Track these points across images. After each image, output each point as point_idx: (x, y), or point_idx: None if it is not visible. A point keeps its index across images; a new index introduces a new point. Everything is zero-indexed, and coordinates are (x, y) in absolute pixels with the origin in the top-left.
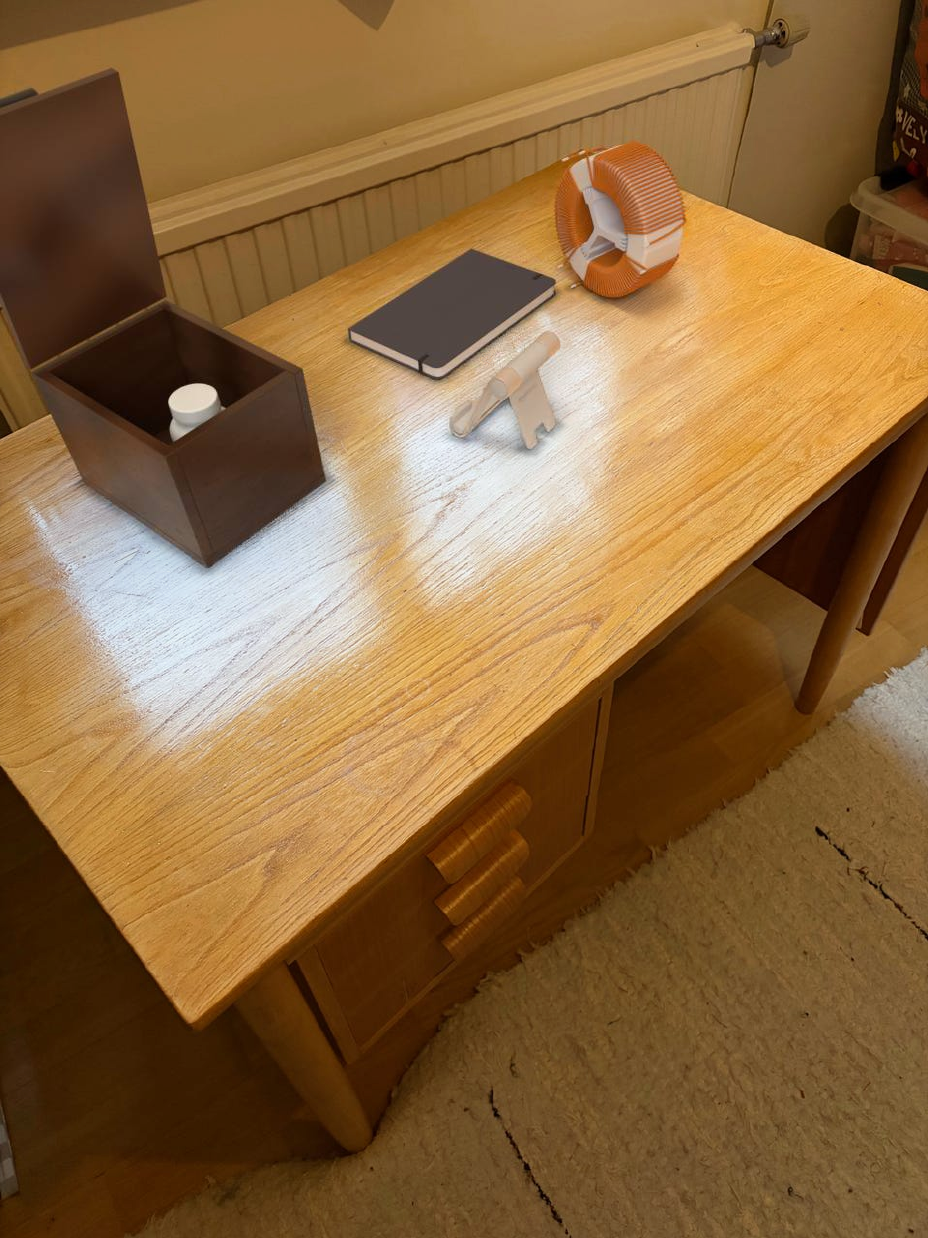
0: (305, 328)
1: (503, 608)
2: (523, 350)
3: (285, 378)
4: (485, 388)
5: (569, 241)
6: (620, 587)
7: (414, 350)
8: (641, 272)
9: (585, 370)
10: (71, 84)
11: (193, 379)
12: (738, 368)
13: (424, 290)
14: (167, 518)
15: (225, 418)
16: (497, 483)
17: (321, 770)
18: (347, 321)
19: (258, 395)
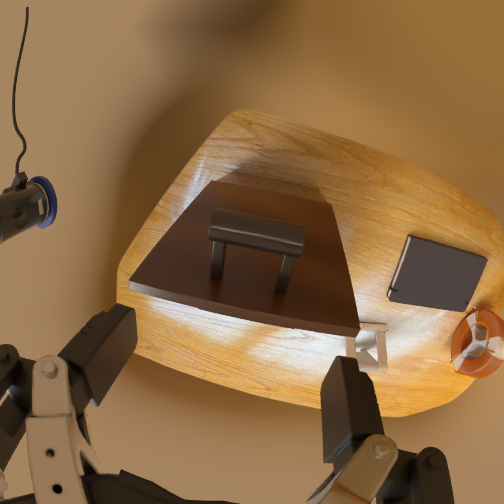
0: (412, 201)
1: (259, 369)
2: (371, 367)
3: (282, 326)
4: (374, 329)
5: (479, 318)
6: (285, 391)
7: (400, 282)
8: (447, 362)
9: (405, 344)
10: (301, 322)
11: None
12: (412, 382)
13: (451, 258)
14: None
15: (237, 317)
16: (321, 347)
17: (175, 347)
18: (425, 221)
19: (262, 322)
